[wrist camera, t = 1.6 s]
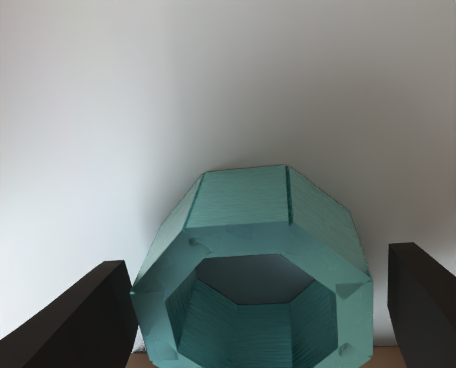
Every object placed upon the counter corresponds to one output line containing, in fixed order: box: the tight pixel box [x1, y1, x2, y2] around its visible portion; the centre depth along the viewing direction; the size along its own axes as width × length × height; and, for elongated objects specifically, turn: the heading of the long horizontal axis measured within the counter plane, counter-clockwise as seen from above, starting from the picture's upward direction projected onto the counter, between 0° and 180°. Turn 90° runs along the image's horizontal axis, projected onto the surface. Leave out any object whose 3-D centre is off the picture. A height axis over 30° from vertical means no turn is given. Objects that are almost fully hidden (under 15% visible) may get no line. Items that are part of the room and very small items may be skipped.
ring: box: [130, 165, 373, 368], centre depth 11 cm, size 6×6×3 cm
